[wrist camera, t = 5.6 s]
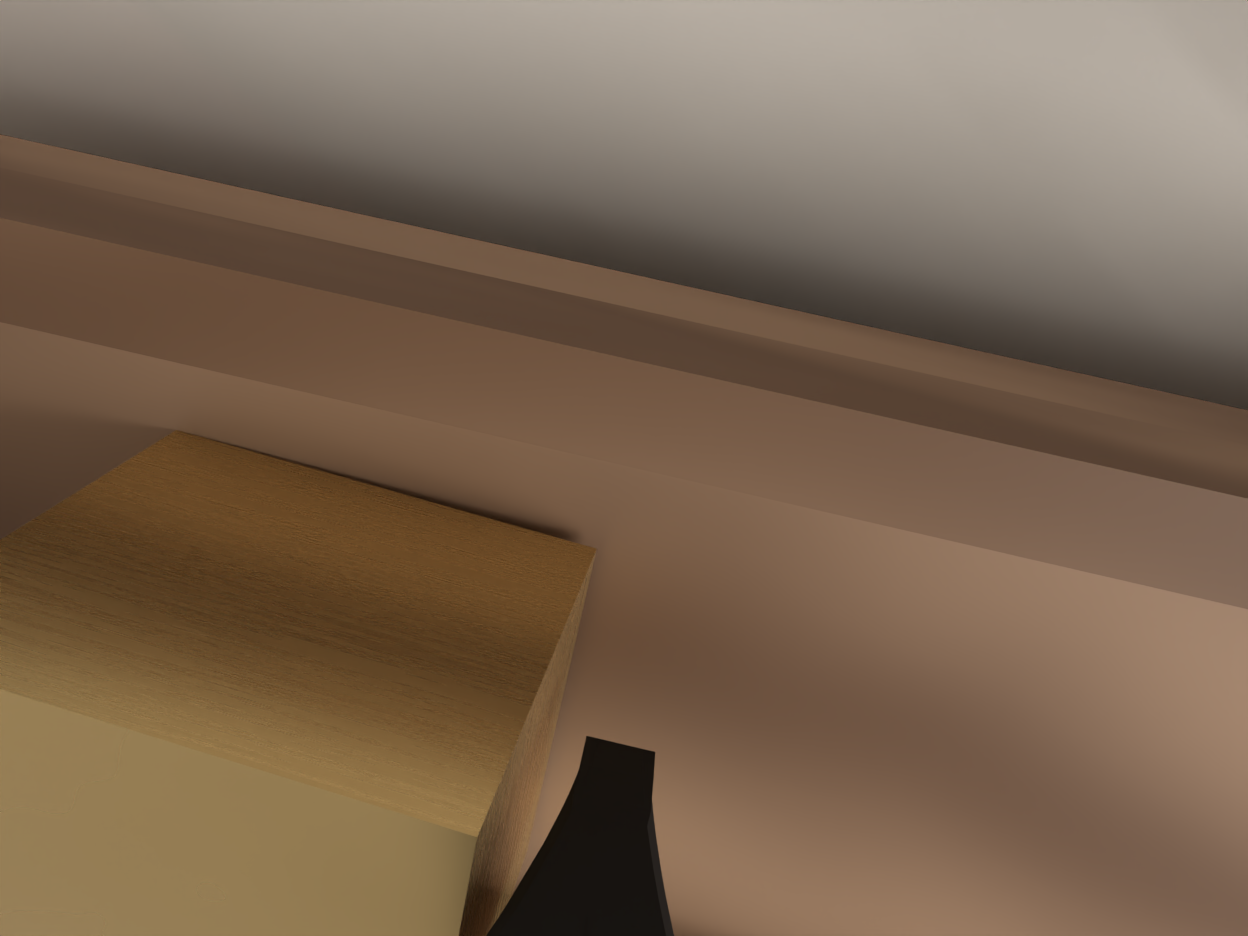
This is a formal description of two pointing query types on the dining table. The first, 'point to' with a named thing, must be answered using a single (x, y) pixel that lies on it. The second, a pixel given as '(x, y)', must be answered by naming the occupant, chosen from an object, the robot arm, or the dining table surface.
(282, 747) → the wood grain cube
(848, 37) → the dining table surface
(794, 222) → the dining table surface
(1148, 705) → the beam
